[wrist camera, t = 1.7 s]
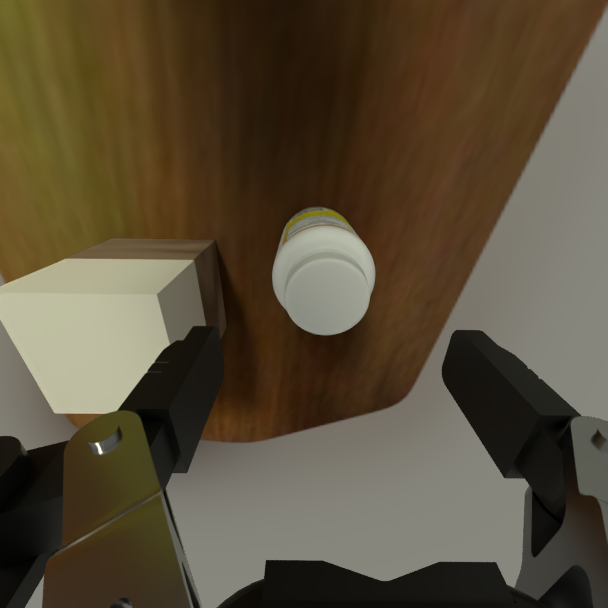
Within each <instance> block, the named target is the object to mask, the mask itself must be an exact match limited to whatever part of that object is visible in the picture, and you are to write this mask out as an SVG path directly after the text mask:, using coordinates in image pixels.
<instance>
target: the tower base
mask: <svg viewBox="0 0 608 608" xmlns="http://www.w3.org/2000/svg"><path fill="white" fill-rule="evenodd" d="M66 259H141V260H194V262H195V267H196V273H197V278H198V284H199V289H200V295H201V301H202V306H203V312H204V317H205V323H206V326H217V327H218V329H219V332H220V339H221V338H222V336H223V334H224V332H225V330H226V327H227V324H226V316H225V309H224V302H223V294H222V287H221V279H220V272H219V265H218V257H217V250H216V242H215V240H186V239H119V238H112V239H110V240H107V241H105V242H103V243H100V244H98V245H95V246H93V247H90V248H88V249H86V250H83V251H81V252H78V253H76V254H73V255H71V256H69V257H66Z"/></svg>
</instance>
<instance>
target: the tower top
mask: <svg viewBox="0 0 608 608" xmlns="http://www.w3.org/2000/svg"><path fill="white" fill-rule="evenodd" d="M0 320H1V322H2V324H3V325H4V327H5V329H6V331H7V332H8V334H9V336H10V337H11V339H12V341H13V342H14V344H15V346H16V348H17V349H18V351H19V352H20V354H21V356H22V358H23V360H24V361H25V363H26V365H27V366H28V368H29V370H30V372H31V373H32V375H33V377H34V379H35V380H36V382H37V384H38V386H39V387H40V389H41V390H42V392H43V394H44V396H45V397H46V399H47V401H48V403H49V404H50V406H51V408H52V410H53V411H54V413H94V414H107V413H110V412H114V411H117V410H118V408H119V407H120V406H121V405H122V403H123V402H124V401H125V399H126V398H127V397H128V395H129V394H130V393H131V391H132V390H133V389H134V387H135V386H136V385H137V383H138V382H139V381H140V380H141V378H142V377H143V376H144V374H145V373H147V372H148V371H147V370H148V369H149V368H150V366H151V365H152V364H153V363H155V360H156V359H157V357H158V356H159V355H160V353H161V352H162V351H163V349H165V348H166V347H168V346H169V345H171V344H172V343H174V342H175V341H176V340H184V338H185V337H186V335H187V334H188V333H189V331H190V330H191V328H192V327H193V326H206V323H205V317H204V312H203V306H202V301H201V295H200V289H199V284H198V278H197V273H196V267H195V262H194V260H141V259H64V260H62V261H60V262H57V263H55V264H52V265H50V266H48V267H45V268H43V269H41V270H38V271H36V272H33V273H31V274H29V275H26V276H24V277H21V278H19V279H17V280H14V281H12V282H9V283H7V284H5V285H2V286H0Z"/></svg>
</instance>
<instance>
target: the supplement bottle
mask: <svg viewBox="0 0 608 608" xmlns="http://www.w3.org/2000/svg"><path fill="white" fill-rule="evenodd" d="M272 282H273V288H274V292H275V294H276V297H277V299H278V300H279V302H280V304H281V305H282V306H283V307H284V308H285V309H286V310H287V312H288V314H289V316H290V317H291V319H292V320H293V321H294V322H295V323H296V324H297V325H298V326H299V327H300V328H302V329H304V330H306V331H308V332H310V333H313V334H318V335H334V334H338V333H342V332H344V331H346V330H348V329H350V328H352V327H353V326H354V325H356V324H357V323H358V322H359V321H360V320H361V319H362V317H363V316H364V314H365V312H366V311H367V308H368V305H369V301H370V295H371V293H372V290H373V287H374V282H375V266H374V262H373V259H372V256H371V254H370V252H369V250H368V249H367V247H366V245H365V244H364V243H363V241H362V240H361V239H360V238H359V236H358V235H357V234H356V232H355V231H354V230H353V228H352V227H351V226H350V225H349V223H348V222H347V220H346V219H345V218H344V217H343V216H342V215H341V214H339V213H338V212H336V211H334V210H332V209H330V208H326V207H309V208H306V209H303V210H301V211H299V212H298V213H297V214H295V215H294V216H293V217H292V218H291V219H290V220H289V221H288V223H287V224H286V226H285V228H284V230H283V233H282V236H281V240H280V243H279V247H278V251H277V254H276V258H275V261H274V265H273V272H272Z"/></svg>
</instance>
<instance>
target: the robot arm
mask: <svg viewBox="0 0 608 608" xmlns="http://www.w3.org/2000/svg"><path fill="white" fill-rule="evenodd" d="M147 371H148V372H147V373H145V374H144V376H143V377H142V378H141V380H140V381H139V382H138V383H137V385H136V386H135V387H134V389H133V390H132V391H131V393H130V394H129V395H128V397H127V398H126V399H125V401H124V402H123V403H122V405H121V406H120V407H119V408H118V410H117V411H114V412H110V413H107V414H104V415H101V416H99V417H97V418H95V419H93V420H91V421H90V422H88V423H87V424H85V425H84V426H82V427H81V428H80V429H79V430H78V431H77V432H76V433H75V434H74V435H73V436H72V437H71V439H70V440H68V441H65V442H60V443H56V444H52V445H49V446H44V447H40V448H36V449H32V450H28V451H26V450H25V448H24V447H23V445H22V444H21V443H20V441H19V440H18V439H17V438H15V437H11V436H0V608H25V606H26V604H27V603H28V601H29V599H30V598H31V596H32V594H33V592H34V591H35V589H36V587H37V586H38V584H39V582H40V581H41V579H42V577H43V575H44V584H43V601H42V608H202V605H201V602H200V598H199V595H198V593H197V589H196V586H195V583H194V580H193V577H192V573H191V570H190V567H189V564H188V561H187V558H186V554H185V551H184V548H183V545H182V541H181V537H180V534H179V531H178V527H177V524H176V521H175V517H174V514H173V511H172V507H171V504H170V501H169V497H168V494H167V491H166V486H167V484H168V481H169V479H170V477H171V474H172V473H187V472H188V469H189V466H190V463H191V461H192V458H193V456H194V453H195V451H196V448H197V445H198V443H199V440H200V438H201V435H202V432H203V430H204V427H205V424H206V422H207V419H208V416H209V414H210V411H211V409H212V406H213V403H214V401H215V398H216V395H217V393H218V390H219V388H220V385H221V382H222V379H223V374H224V360H223V353H222V346H221V339H220V332H219V329H218V327H217V326H193V327H192V328H191V330H190V331H189V333H188V334H187V335H186V337H185V338H184V340H176V341H175V342H174V343H172V344H171V345H169V346H168V347H166V348H165V349H163V351H162V352H161V353H160V355H159V356H158V357H157V359H156V360H155V363H153V364H152V365H151V366H150V368H149V369H148V370H147ZM442 378H443V381H444V384H445V385H446V387H447V389H448V390H449V392H450V393H451V395H452V396H453V398H454V400H455V401H456V403H457V404H458V406H459V407H460V409H461V411H462V412H463V414H464V415H465V417H466V418H467V420H468V421H469V423H470V424H471V426H472V428H473V429H474V431H475V432H476V434H477V436H478V437H479V439H480V440H481V442H482V444H483V445H484V447H485V448H486V450H487V451H488V453H489V455H490V456H491V458H492V459H493V461H494V462H495V464H496V466H497V467H498V469H499V470H500V472H501V473H502V475H503V477H504V478H525V479H526V481H527V482H528V484H529V487H528V488H527V490H526V492H525V506H524V529H523V553H522V566H521V570H520V574H519V577H518V579H517V582H516V585H515V588H513V587H511V586H508V585H507V584H506V582H505V580H504V578H503V576H502V574H501V572H500V570H499V568H498V566H497V564H496V562H438V563H435V564H433V565H430V566H428V567H425V568H422V569H419V570H417V571H414V572H412V573H409V574H406V575H404V576H401V577H398V578H396V579H393V580H391V581H380V580H377V579H374V578H371V577H368V576H365V575H362V574H359V573H357V572H353V571H351V570H348V569H345V568H342V567H339V566H336V565H334V564H331V563H328V562H325V561H302V560H301V561H299V560H266V565H265V576H264V579H262V580H259V581H257V582H254V583H252V584H250V585H248V586H246V587H244V588H242V589H241V590H239V591H237V592H236V593H235V594H233V595H232V596H230V597H229V598H228V599H226V600H225V601H224V602H223V603H222V604H221V605H219V606H218V607H217V608H608V421H604V420H602V419H598V418H594V417H588V416H581V415H580V414H579V413H578V412H577V411H576V410H575V409H574V408H573V407H571V406H570V405H569V404H568V403H567V402H566V401H565V400H563V398H561V397H560V396H559V395H558V394H557V393H556V392H555V391H554V390H553V389H552V388H550V387H549V386H548V385H547V384H546V383H545V382H544V381H543V380H542V379H539V378H538V376H537V375H536V374H535V373H534V372H533V371H532V370H531V369H528V368H527V366H526V365H525V364H524V363H523V362H522V361H521V360H520V359H519V358H517V357H516V356H515V355H514V354H512V353H510V352H509V351H507V350H505V349H503V348H501V347H500V346H498V345H497V344H496V343H495V342H494V341H493V340H492V339H490V338H489V337H488V336H487V335H486V334H485V333H484V332H483V331H480V330H456V331H454V333H453V334H452V336H451V339H450V343H449V346H448V349H447V353H446V356H445V359H444V362H443V365H442ZM59 548H60V549H59Z"/></svg>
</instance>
